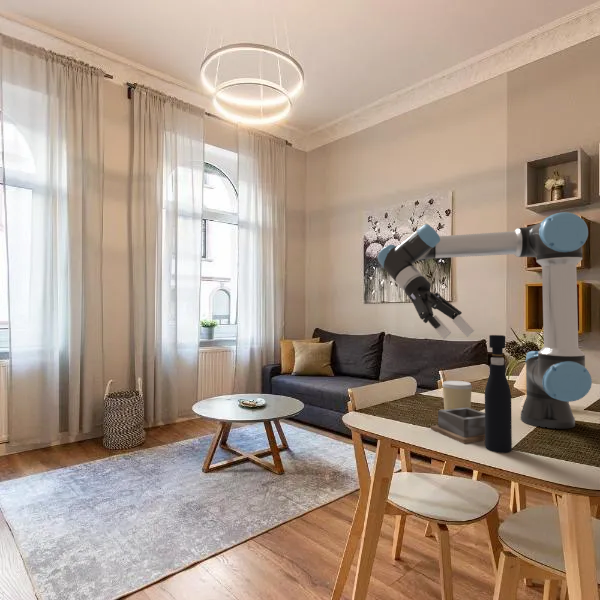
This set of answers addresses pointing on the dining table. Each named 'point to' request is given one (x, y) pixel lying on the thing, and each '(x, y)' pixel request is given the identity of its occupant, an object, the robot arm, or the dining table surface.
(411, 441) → the dining table surface
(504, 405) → the wine bottle
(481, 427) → the collar stand
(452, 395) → the coffee cup
